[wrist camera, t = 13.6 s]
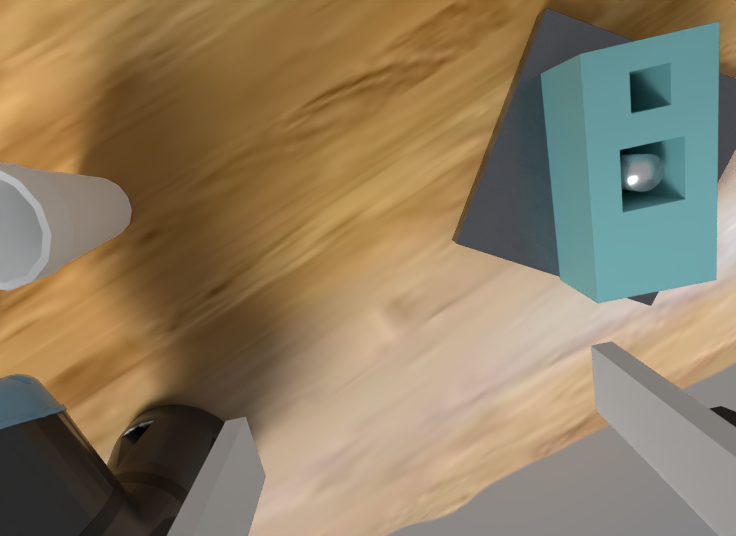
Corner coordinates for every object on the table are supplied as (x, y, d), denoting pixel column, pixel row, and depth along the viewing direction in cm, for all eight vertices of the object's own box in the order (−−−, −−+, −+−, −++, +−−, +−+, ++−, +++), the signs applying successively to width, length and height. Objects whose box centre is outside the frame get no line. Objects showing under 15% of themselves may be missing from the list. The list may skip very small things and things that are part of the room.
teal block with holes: (658, 259, 41) (716, 279, 34) (560, 279, 41) (597, 303, 34) (652, 47, 36) (719, 21, 29) (540, 73, 36) (580, 54, 29)
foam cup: (118, 147, 40) (4, 142, 27) (162, 233, 42) (75, 264, 30) (37, 181, 41) (-110, 191, 28) (85, 263, 43) (-32, 306, 30)
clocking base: (638, 299, 44) (696, 329, 36) (452, 239, 42) (470, 257, 34) (746, 94, 38) (842, 77, 31) (537, 16, 37) (582, -23, 29)
